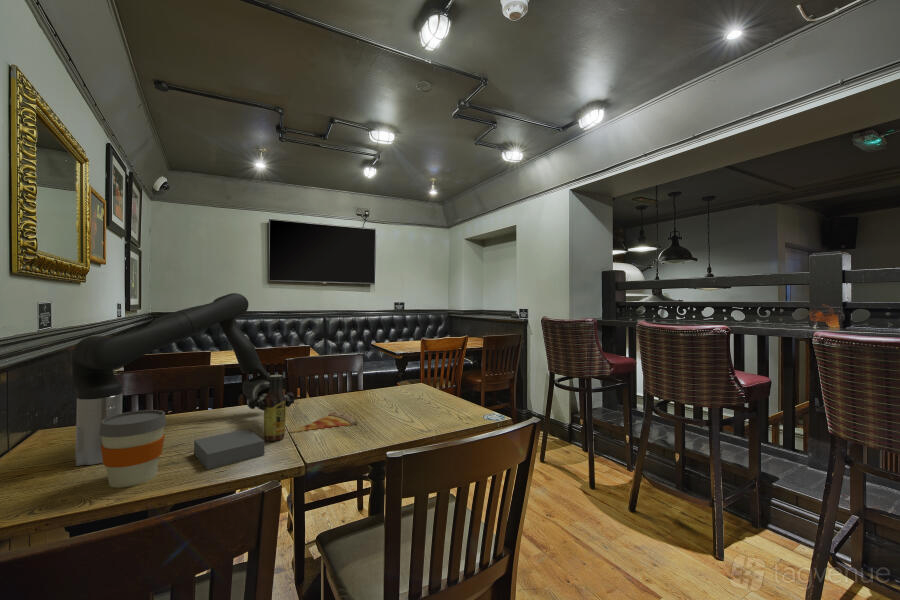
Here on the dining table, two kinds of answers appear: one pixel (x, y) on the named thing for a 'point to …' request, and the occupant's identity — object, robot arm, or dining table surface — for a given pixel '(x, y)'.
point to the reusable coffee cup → (132, 446)
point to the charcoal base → (228, 448)
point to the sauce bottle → (274, 410)
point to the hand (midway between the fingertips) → (276, 405)
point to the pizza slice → (329, 422)
